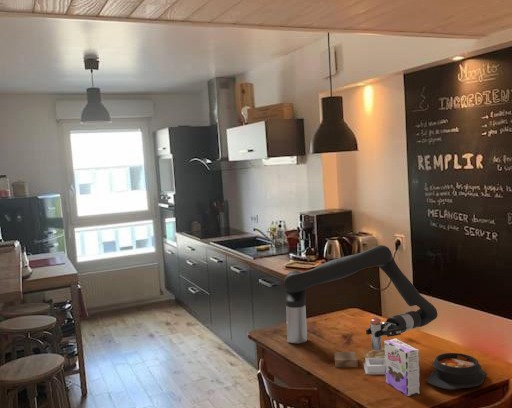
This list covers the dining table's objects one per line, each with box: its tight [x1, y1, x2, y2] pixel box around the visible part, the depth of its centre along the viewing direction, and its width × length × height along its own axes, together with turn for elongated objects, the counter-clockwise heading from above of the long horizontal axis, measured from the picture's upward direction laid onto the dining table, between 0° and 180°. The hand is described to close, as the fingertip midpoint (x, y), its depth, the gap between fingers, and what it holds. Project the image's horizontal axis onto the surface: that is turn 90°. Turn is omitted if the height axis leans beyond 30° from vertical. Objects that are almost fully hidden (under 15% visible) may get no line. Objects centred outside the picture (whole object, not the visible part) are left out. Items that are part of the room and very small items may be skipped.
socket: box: [362, 357, 385, 375], centre depth 210 cm, size 10×10×3 cm
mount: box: [333, 351, 359, 368], centre depth 218 cm, size 9×9×3 cm
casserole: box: [426, 352, 488, 391], centre depth 195 cm, size 25×19×8 cm
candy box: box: [383, 338, 421, 397], centre depth 192 cm, size 14×6×16 cm, turn 21°
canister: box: [369, 317, 383, 352], centre depth 209 cm, size 4×4×12 cm
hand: (371, 333), depth 207 cm, fingers closed on canister, 4 cm apart
